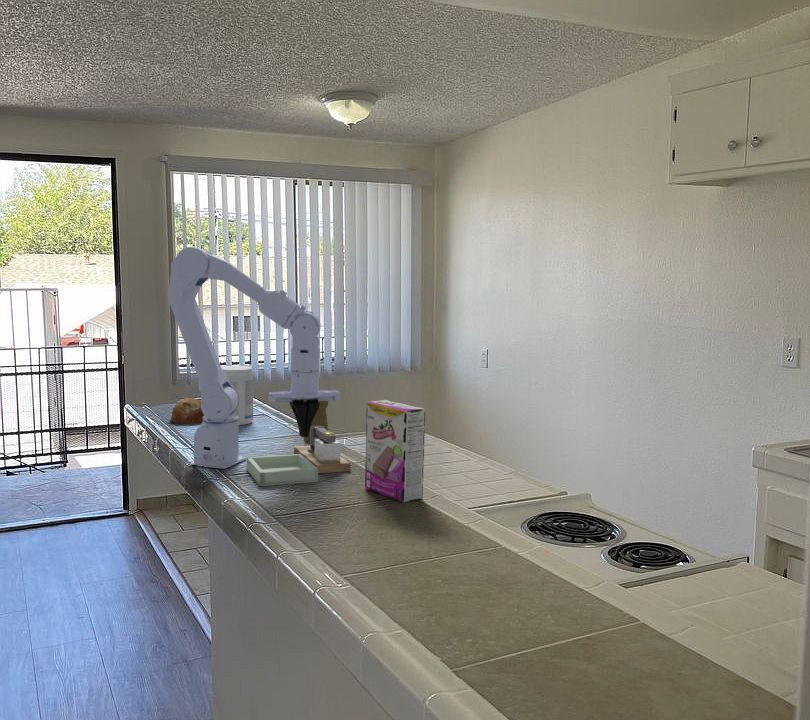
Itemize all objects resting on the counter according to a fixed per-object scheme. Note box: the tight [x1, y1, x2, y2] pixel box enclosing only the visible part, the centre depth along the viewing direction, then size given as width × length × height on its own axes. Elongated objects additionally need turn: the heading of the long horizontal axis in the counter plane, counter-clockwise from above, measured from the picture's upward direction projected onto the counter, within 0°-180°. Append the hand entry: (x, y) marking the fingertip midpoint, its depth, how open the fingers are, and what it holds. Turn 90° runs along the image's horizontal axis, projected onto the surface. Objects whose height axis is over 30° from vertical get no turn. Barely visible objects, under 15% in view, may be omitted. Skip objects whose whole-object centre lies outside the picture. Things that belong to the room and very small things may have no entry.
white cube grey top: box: [314, 439, 342, 463], centre depth 155 cm, size 5×4×4 cm
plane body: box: [293, 445, 352, 474], centre depth 159 cm, size 18×7×2 cm, turn 23°
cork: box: [303, 401, 329, 443], centre depth 180 cm, size 6×6×11 cm
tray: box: [246, 453, 319, 487], centre depth 147 cm, size 13×11×2 cm
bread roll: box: [169, 397, 204, 425], centre depth 200 cm, size 10×10×8 cm
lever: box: [309, 426, 337, 450], centre depth 158 cm, size 12×3×5 cm, turn 23°
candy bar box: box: [364, 399, 426, 504], centre depth 136 cm, size 11×5×16 cm, turn 41°
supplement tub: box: [221, 365, 254, 426], centre depth 199 cm, size 10×10×15 cm
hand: (303, 436), depth 157 cm, fingers closed
